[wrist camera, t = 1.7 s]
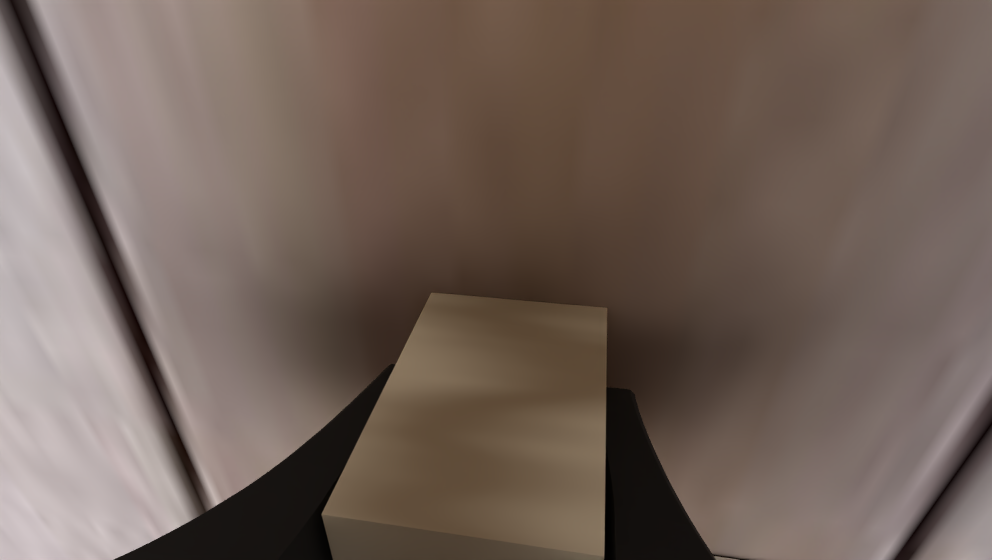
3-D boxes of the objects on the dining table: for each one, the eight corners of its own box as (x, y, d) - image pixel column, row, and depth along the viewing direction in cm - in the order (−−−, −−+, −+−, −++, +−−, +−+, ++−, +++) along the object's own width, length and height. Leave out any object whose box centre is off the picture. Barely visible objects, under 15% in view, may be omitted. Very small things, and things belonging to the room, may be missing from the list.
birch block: (607, 307, 13) (604, 556, 8) (592, 437, 15) (583, 700, 10) (431, 292, 13) (321, 513, 8) (440, 418, 15) (357, 658, 10)
